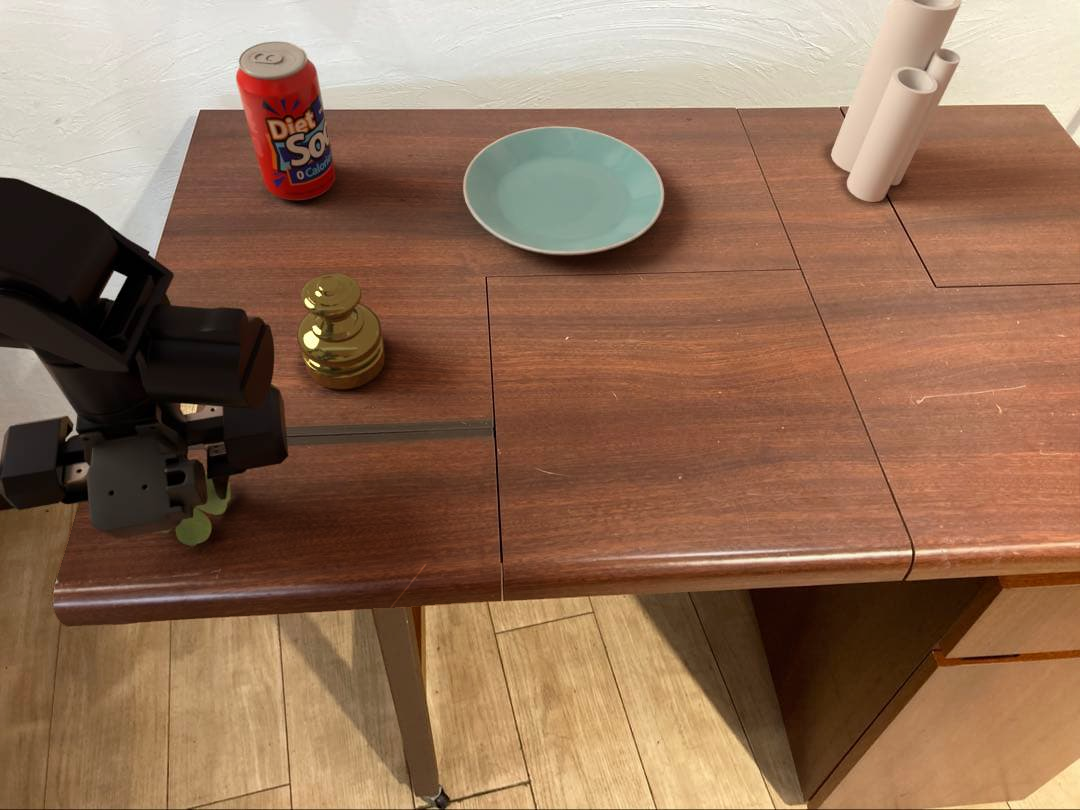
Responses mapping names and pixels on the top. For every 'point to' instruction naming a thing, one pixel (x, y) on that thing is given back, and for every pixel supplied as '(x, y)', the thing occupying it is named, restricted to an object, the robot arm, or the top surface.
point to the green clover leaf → (202, 517)
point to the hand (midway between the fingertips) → (185, 501)
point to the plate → (563, 191)
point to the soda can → (286, 119)
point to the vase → (896, 95)
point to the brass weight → (339, 333)
